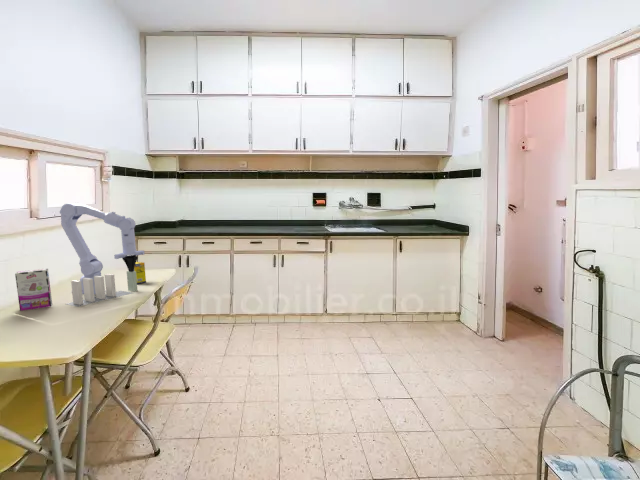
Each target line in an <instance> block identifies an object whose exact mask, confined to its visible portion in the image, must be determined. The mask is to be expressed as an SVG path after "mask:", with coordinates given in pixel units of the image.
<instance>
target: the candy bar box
mask: <svg viewBox="0 0 640 480" xmlns="http://www.w3.org/2000/svg"><path fill="white" fill-rule="evenodd" d="M14 276H15V283H16V289H17V290H16V292H17V299H18V305H19V311H20V312H21V311H28V310H36V309H42V308H45V309H46V308H50V307H52V306H53V299H52V292H51V291H52V290H51V284H50V283H51V282H50V274H49V268H41V269H40V268H39V269H31V270H22V271H16V272H15V274H14Z"/></svg>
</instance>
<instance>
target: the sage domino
mask: <svg viewBox="0 0 640 480" xmlns="http://www.w3.org/2000/svg"><path fill="white" fill-rule="evenodd" d="M126 281H127V290H128V292H138V284H137V278H136V271H133V272H129V270H127V271H126Z"/></svg>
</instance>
